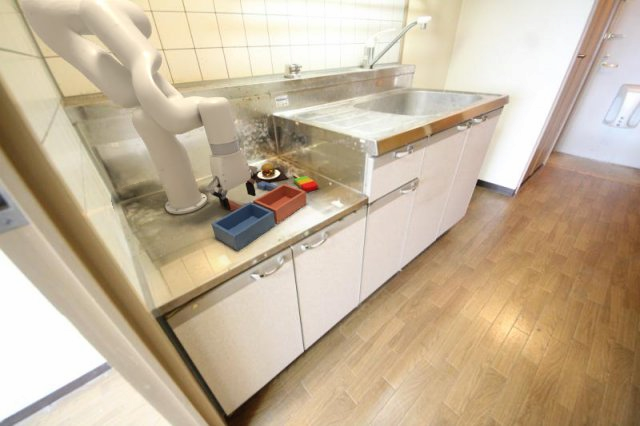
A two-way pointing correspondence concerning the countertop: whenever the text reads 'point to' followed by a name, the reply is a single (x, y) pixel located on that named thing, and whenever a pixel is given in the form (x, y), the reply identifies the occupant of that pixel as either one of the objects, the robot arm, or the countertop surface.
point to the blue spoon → (266, 186)
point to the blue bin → (243, 225)
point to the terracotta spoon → (233, 205)
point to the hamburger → (270, 174)
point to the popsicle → (305, 183)
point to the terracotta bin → (282, 201)
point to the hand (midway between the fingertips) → (239, 201)
